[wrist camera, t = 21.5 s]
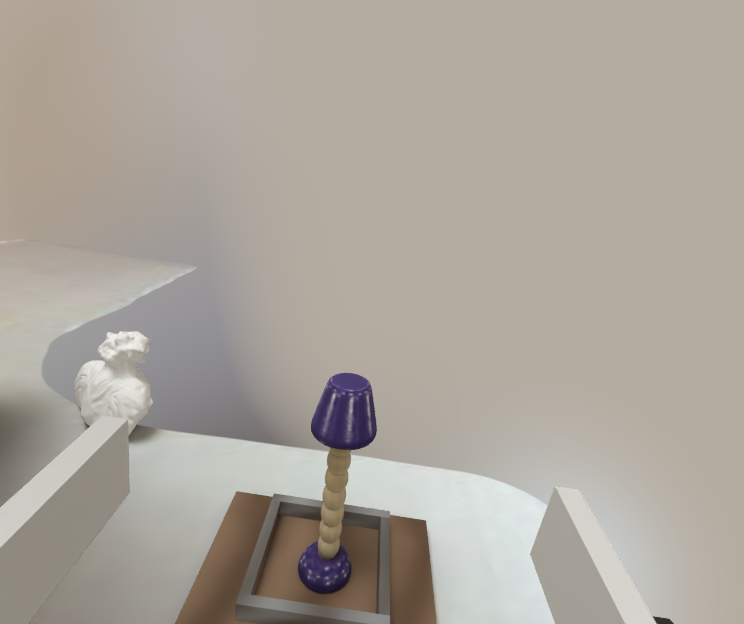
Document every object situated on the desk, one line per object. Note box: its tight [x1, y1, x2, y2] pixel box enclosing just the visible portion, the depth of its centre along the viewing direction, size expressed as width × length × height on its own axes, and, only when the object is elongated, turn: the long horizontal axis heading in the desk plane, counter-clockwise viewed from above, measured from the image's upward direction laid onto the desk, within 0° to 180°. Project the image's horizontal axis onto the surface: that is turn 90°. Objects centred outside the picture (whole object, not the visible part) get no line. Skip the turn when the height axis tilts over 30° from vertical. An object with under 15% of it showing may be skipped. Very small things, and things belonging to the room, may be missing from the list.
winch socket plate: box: [175, 492, 436, 624], centre depth 36 cm, size 18×13×3 cm
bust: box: [74, 331, 153, 436], centre depth 50 cm, size 12×8×11 cm
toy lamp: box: [298, 373, 377, 593], centre depth 33 cm, size 5×5×17 cm
